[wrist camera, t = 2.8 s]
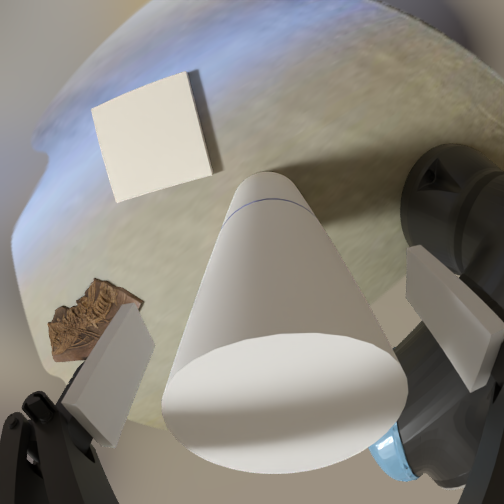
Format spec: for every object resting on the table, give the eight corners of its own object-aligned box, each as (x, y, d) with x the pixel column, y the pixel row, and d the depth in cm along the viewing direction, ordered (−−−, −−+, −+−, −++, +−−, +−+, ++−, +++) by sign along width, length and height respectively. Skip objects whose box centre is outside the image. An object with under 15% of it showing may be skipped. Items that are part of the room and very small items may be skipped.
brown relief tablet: (114, 263, 34) (110, 267, 33) (168, 328, 37) (165, 333, 36) (30, 331, 40) (27, 334, 39) (71, 375, 43) (69, 379, 42)
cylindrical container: (261, 157, 28) (275, 269, 5) (315, 201, 30) (444, 394, 7) (218, 211, 31) (125, 423, 8) (271, 251, 32) (290, 485, 9)
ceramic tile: (188, 72, 25) (185, 71, 24) (213, 173, 29) (212, 175, 28) (95, 109, 26) (91, 109, 25) (120, 200, 30) (116, 203, 29)
